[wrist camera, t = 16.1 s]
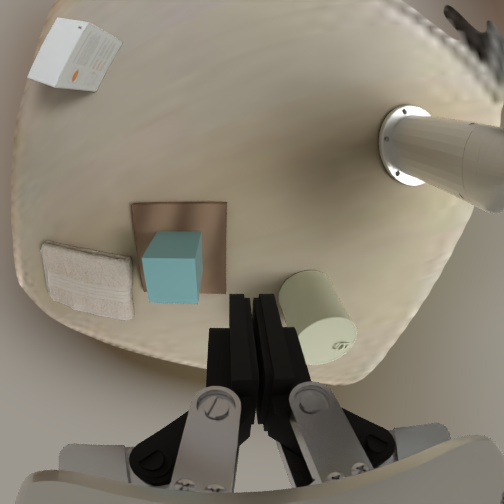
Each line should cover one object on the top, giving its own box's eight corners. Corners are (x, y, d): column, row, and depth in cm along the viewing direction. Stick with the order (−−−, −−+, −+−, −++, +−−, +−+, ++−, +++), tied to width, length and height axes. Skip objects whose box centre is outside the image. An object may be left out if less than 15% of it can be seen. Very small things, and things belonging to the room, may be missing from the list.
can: (319, 318, 46) (339, 369, 36) (270, 311, 45) (282, 366, 34) (341, 275, 43) (371, 323, 32) (289, 264, 41) (309, 315, 30)
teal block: (201, 231, 36) (195, 258, 29) (202, 271, 39) (198, 303, 32) (157, 231, 36) (141, 257, 29) (161, 270, 39) (149, 302, 32)
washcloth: (44, 237, 36) (35, 245, 33) (135, 253, 39) (129, 263, 36) (54, 293, 41) (46, 303, 38) (136, 313, 44) (132, 324, 41)
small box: (95, 34, 23) (57, 15, 13) (124, 42, 24) (90, 20, 15) (69, 83, 25) (25, 78, 16) (96, 93, 27) (54, 88, 18)
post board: (226, 202, 36) (226, 221, 29) (225, 289, 42) (225, 321, 35) (133, 202, 35) (113, 222, 28) (145, 288, 41) (132, 318, 34)
